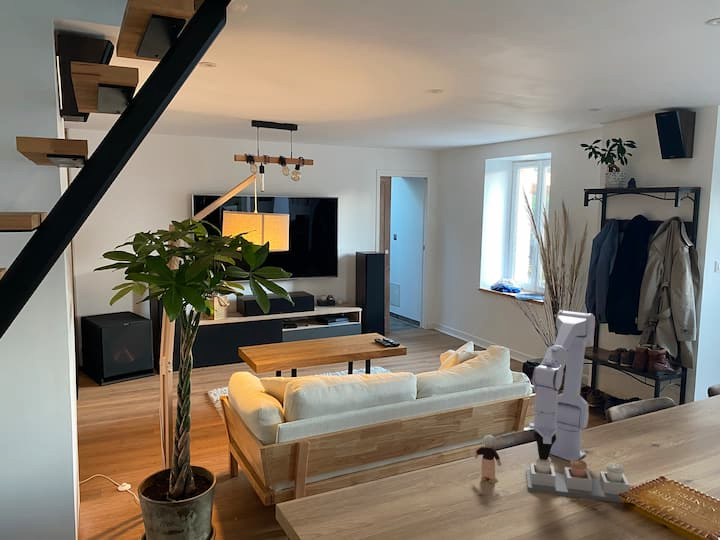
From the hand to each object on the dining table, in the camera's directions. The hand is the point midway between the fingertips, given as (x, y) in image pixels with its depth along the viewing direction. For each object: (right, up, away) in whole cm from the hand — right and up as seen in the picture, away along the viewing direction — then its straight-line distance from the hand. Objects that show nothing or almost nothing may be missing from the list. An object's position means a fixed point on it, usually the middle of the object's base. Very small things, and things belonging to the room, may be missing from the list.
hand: (543, 458), depth 146 cm
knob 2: (+17, -4, -4) cm, 18 cm away
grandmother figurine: (-14, -7, +3) cm, 16 cm away
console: (+9, -8, -1) cm, 12 cm away
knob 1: (0, -4, 0) cm, 4 cm away
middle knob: (+9, -4, -2) cm, 10 cm away
